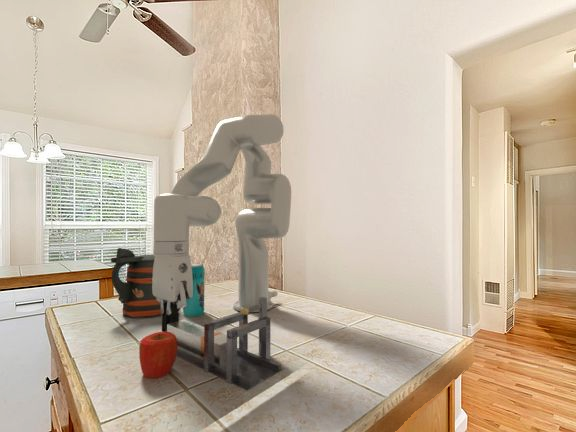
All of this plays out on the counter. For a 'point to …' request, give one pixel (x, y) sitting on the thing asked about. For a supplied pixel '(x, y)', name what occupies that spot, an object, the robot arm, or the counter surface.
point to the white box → (198, 339)
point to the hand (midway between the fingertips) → (170, 330)
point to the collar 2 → (242, 330)
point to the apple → (157, 354)
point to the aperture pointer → (262, 313)
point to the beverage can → (196, 292)
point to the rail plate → (238, 367)
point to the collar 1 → (209, 336)
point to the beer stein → (135, 284)
